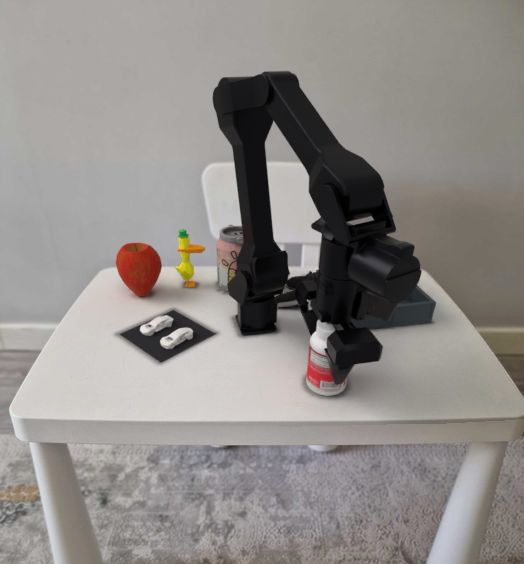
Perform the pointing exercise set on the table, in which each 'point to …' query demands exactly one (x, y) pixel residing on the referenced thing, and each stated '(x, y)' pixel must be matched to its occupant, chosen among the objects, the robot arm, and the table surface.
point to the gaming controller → (289, 297)
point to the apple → (138, 267)
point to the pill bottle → (321, 363)
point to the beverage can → (228, 254)
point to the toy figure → (187, 257)
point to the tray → (404, 312)
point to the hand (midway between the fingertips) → (328, 366)
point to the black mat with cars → (167, 335)
